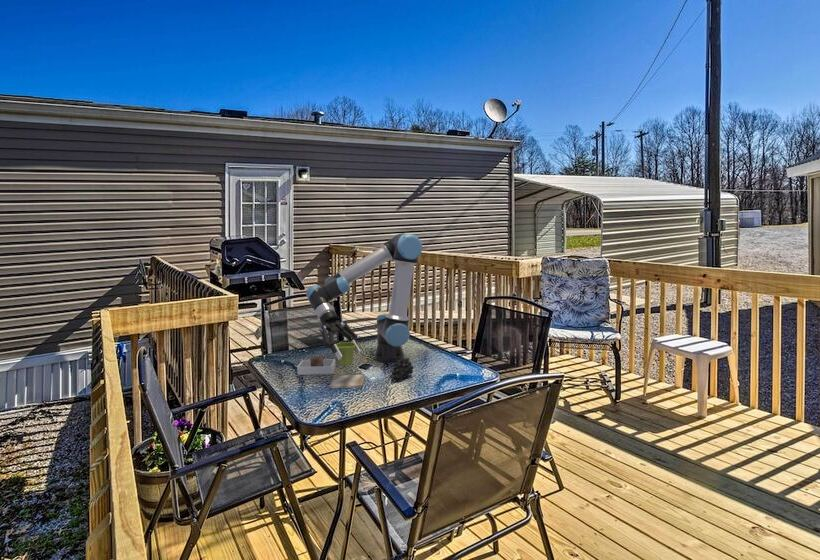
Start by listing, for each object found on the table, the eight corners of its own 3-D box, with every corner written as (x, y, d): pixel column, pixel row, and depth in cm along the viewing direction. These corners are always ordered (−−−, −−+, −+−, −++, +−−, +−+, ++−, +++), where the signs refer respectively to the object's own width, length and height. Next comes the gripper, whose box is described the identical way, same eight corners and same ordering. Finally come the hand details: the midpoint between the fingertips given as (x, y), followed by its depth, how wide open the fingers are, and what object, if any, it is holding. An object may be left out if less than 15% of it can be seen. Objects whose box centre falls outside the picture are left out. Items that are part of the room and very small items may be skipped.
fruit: (394, 363, 212) (412, 354, 225) (379, 367, 217) (398, 357, 230) (400, 383, 212) (418, 372, 225) (385, 385, 217) (404, 375, 229)
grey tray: (335, 367, 239) (335, 358, 238) (332, 375, 227) (332, 366, 226) (302, 368, 238) (302, 359, 238) (297, 376, 226) (297, 367, 226)
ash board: (364, 376, 224) (364, 374, 224) (362, 387, 210) (362, 385, 210) (333, 377, 224) (333, 375, 224) (329, 388, 210) (329, 386, 210)
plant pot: (352, 367, 210) (352, 347, 209) (331, 366, 212) (331, 347, 211) (359, 361, 219) (358, 342, 218) (339, 360, 221) (338, 341, 220)
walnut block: (323, 368, 235) (322, 356, 234) (321, 371, 230) (321, 359, 229) (312, 368, 235) (312, 356, 234) (310, 372, 230) (310, 359, 229)
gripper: (342, 316, 232) (365, 355, 223) (302, 324, 216) (325, 366, 207) (349, 306, 228) (372, 345, 219) (309, 313, 212) (332, 356, 203)
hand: (349, 355), depth 213 cm, fingers closed on plant pot, 9 cm apart
